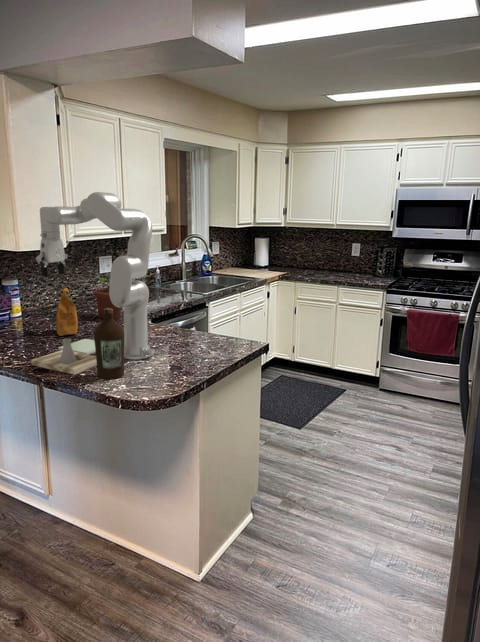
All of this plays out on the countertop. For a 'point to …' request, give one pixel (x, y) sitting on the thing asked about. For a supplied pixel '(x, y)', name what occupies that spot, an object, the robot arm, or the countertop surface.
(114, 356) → the olive oil
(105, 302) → the potted plant
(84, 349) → the sage tile
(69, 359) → the flask
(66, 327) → the coffee package
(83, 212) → the robot arm
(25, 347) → the countertop surface
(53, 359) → the tan flat rectangular frame
